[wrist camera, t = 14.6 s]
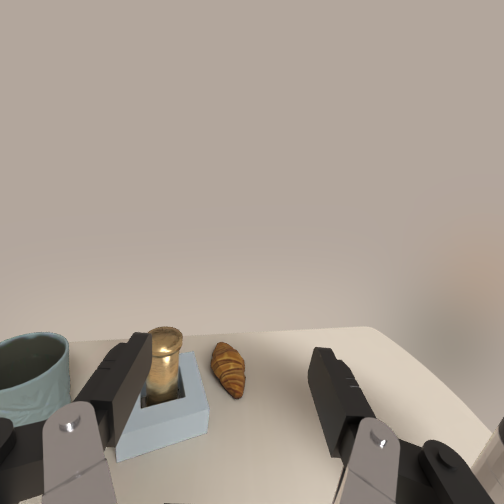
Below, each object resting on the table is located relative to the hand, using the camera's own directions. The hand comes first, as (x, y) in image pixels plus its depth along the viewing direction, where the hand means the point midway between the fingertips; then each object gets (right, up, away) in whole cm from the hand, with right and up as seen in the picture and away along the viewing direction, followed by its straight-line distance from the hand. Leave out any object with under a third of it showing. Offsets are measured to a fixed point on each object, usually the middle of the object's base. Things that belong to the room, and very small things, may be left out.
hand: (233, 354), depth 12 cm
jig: (-14, -20, +27) cm, 37 cm away
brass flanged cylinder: (-14, -20, +27) cm, 37 cm away
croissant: (-4, -19, +37) cm, 41 cm away
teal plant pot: (-30, -20, +23) cm, 43 cm away
